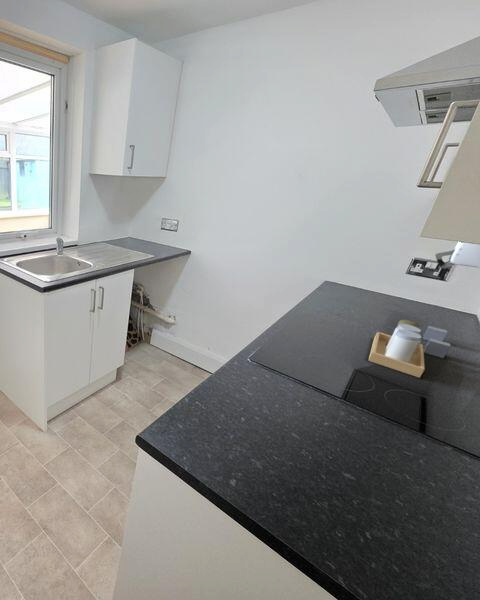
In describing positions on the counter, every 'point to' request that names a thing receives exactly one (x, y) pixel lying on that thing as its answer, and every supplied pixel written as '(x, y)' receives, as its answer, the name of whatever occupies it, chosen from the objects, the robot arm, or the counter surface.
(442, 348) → the grey slab front
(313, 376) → the counter surface
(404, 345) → the salt shaker
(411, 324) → the cork
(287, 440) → the counter surface
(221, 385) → the counter surface
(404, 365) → the shaker tray
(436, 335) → the grey slab back
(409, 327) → the cylinder
